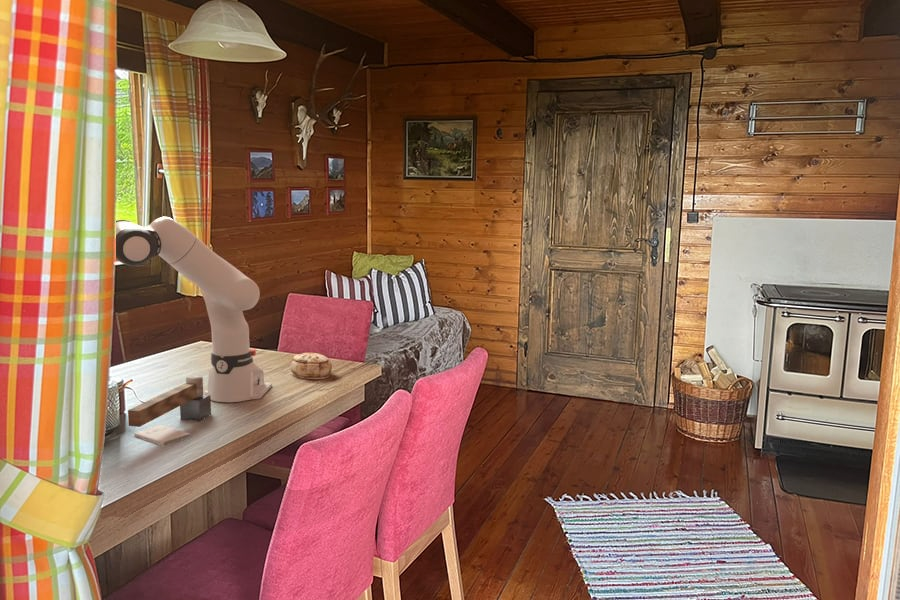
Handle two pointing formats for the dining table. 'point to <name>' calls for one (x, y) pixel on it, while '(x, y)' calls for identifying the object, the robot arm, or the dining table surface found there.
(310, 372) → the trinket box
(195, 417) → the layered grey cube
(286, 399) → the dining table surface
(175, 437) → the external hard drive
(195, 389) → the walnut swing arm
